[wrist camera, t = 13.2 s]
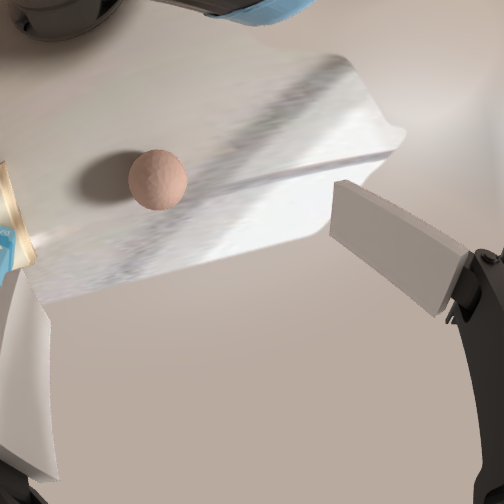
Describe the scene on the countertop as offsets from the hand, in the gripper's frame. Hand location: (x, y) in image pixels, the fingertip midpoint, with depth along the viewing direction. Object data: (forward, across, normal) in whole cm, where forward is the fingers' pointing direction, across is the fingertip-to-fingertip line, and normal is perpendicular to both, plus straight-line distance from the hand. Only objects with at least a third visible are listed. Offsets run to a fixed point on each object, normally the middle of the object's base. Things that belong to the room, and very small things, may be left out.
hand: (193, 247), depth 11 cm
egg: (+29, +2, -5) cm, 29 cm away
